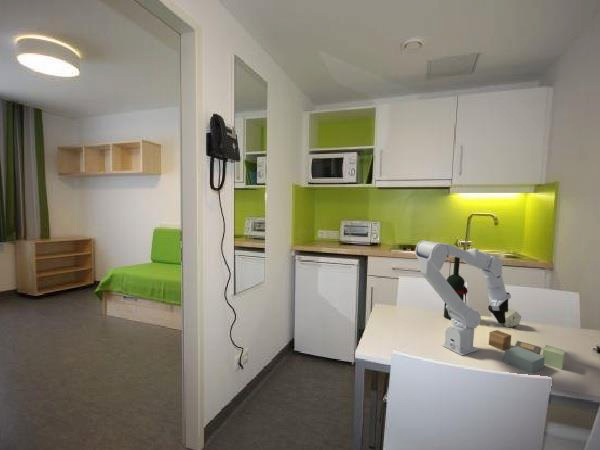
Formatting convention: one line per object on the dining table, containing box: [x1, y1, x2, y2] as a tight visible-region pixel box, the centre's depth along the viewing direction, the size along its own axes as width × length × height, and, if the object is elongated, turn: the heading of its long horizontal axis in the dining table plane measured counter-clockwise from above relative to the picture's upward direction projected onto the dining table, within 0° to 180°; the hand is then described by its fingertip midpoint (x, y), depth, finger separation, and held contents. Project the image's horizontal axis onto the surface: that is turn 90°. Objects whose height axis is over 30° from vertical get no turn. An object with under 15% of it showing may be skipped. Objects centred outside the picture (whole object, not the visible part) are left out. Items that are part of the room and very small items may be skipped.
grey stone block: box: [503, 306, 522, 328], centre depth 130 cm, size 8×9×10 cm
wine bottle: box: [443, 256, 468, 321], centre depth 136 cm, size 8×10×30 cm
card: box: [514, 340, 541, 355], centre depth 110 cm, size 7×7×1 cm
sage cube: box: [542, 344, 566, 370], centre depth 99 cm, size 5×5×5 cm
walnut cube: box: [488, 329, 512, 351], centre depth 110 cm, size 5×5×5 cm
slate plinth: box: [503, 346, 545, 374], centre depth 98 cm, size 8×8×4 cm
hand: (503, 317), depth 111 cm, fingers open, 7 cm apart
